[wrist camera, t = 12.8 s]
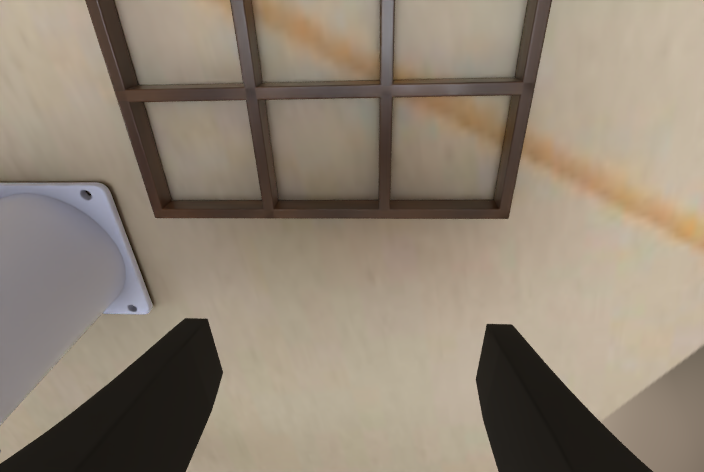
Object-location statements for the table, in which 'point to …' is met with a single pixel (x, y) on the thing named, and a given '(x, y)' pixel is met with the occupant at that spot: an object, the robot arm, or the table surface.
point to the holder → (258, 92)
